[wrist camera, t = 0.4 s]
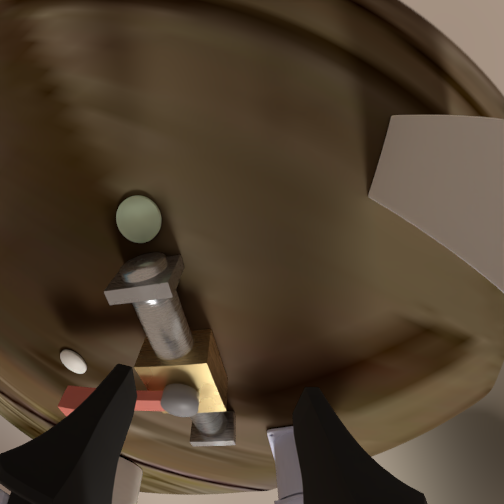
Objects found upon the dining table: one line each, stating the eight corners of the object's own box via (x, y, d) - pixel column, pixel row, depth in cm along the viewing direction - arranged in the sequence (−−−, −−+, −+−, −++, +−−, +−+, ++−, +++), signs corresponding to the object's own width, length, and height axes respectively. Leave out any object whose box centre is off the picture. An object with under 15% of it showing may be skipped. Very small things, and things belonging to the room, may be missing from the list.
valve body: (242, 417, 27) (242, 446, 23) (192, 420, 27) (188, 448, 23) (187, 246, 19) (175, 273, 15) (115, 259, 19) (93, 285, 15)
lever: (193, 382, 18) (188, 412, 16) (204, 404, 19) (201, 432, 17) (65, 380, 19) (53, 401, 16) (80, 400, 20) (71, 421, 17)
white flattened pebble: (92, 372, 24) (91, 374, 23) (70, 371, 24) (69, 372, 24) (77, 349, 22) (76, 351, 22) (56, 349, 23) (55, 351, 22)
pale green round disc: (166, 236, 18) (165, 238, 18) (125, 244, 18) (124, 246, 18) (154, 190, 17) (153, 191, 17) (112, 201, 17) (110, 202, 17)
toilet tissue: (152, 469, 34) (144, 517, 25) (129, 478, 38) (121, 518, 28) (94, 442, 31) (79, 492, 22) (80, 455, 35) (68, 495, 26)
